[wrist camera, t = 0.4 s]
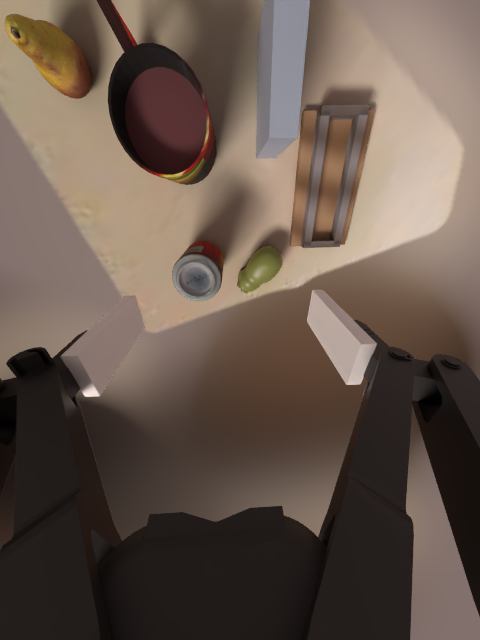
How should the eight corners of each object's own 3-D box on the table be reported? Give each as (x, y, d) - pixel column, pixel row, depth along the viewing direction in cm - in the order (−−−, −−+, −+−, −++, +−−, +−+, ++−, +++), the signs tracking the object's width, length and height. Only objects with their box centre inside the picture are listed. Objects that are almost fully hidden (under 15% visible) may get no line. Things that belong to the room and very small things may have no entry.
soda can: (178, 251, 38) (159, 271, 27) (210, 231, 37) (203, 244, 26) (200, 283, 41) (190, 311, 31) (230, 266, 40) (231, 289, 29)
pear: (290, 266, 35) (251, 303, 40) (286, 255, 39) (252, 289, 44) (266, 245, 33) (229, 286, 38) (265, 235, 37) (231, 274, 42)
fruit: (87, 37, 25) (-14, -77, 15) (107, 103, 28) (35, 46, 18) (42, 43, 25) (-90, -68, 15) (66, 108, 28) (-29, 54, 18)
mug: (139, 49, 26) (77, -52, 15) (228, 138, 30) (228, 106, 20) (111, 130, 29) (46, 93, 19) (195, 198, 34) (180, 198, 24)
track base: (302, 113, 29) (308, 105, 27) (370, 112, 29) (383, 104, 27) (289, 245, 38) (293, 248, 36) (342, 243, 39) (349, 246, 36)
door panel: (257, 37, 26) (276, -74, 15) (281, 37, 26) (316, -73, 15) (256, 158, 32) (269, 138, 21) (275, 158, 32) (297, 137, 21)
